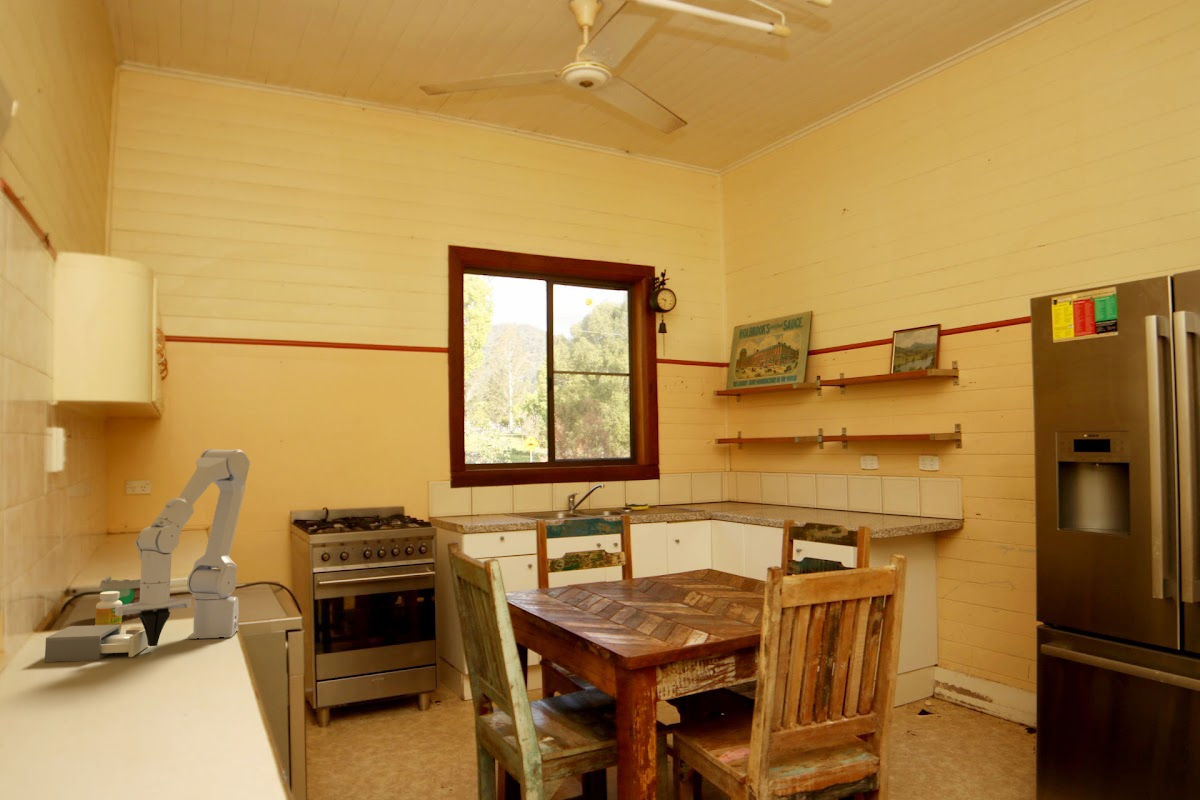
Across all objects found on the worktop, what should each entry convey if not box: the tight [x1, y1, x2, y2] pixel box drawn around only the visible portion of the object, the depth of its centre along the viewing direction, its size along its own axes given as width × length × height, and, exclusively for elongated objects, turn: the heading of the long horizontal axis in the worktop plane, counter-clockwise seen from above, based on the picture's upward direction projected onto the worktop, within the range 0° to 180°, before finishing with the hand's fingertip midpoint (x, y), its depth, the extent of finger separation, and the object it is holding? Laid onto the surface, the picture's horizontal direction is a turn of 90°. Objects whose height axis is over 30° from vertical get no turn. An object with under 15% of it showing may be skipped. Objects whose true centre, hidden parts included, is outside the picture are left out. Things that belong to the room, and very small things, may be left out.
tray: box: [101, 629, 150, 658], centre depth 170 cm, size 10×11×4 cm
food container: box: [99, 576, 141, 621], centre depth 206 cm, size 12×6×10 cm, turn 73°
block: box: [125, 626, 144, 635], centre depth 178 cm, size 3×3×4 cm
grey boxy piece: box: [44, 624, 121, 663], centre depth 169 cm, size 10×11×5 cm
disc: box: [104, 633, 133, 644], centre depth 171 cm, size 6×6×2 cm
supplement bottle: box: [94, 591, 123, 634], centre depth 189 cm, size 5×5×10 cm
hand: (152, 645), depth 172 cm, fingers closed
